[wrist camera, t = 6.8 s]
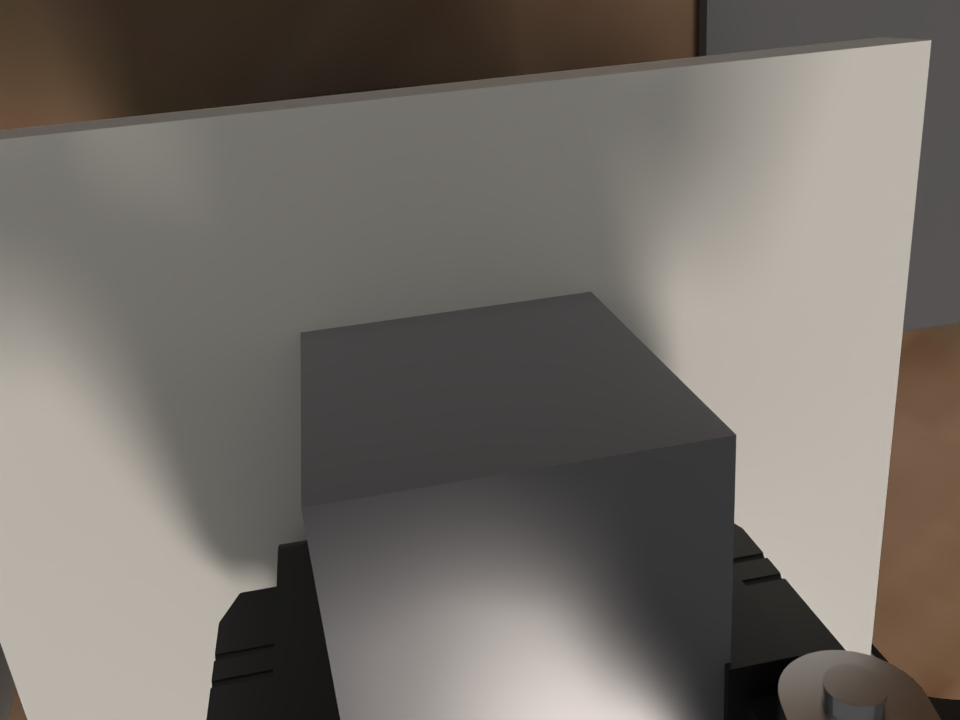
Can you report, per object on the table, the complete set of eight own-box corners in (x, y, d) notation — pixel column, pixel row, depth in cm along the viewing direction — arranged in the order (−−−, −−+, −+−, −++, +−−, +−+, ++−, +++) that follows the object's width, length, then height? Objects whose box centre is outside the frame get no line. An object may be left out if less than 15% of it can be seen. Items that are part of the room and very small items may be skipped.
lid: (-128, 144, 10) (-496, 262, 5) (881, 37, 12) (1263, 58, 7) (126, 905, 14) (46, 1324, 10) (825, 751, 16) (1033, 1047, 12)
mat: (702, -182, 22) (710, -186, 21) (1208, -213, 24) (1226, -218, 23) (694, 354, 27) (701, 361, 27) (1107, 293, 29) (1120, 298, 29)
